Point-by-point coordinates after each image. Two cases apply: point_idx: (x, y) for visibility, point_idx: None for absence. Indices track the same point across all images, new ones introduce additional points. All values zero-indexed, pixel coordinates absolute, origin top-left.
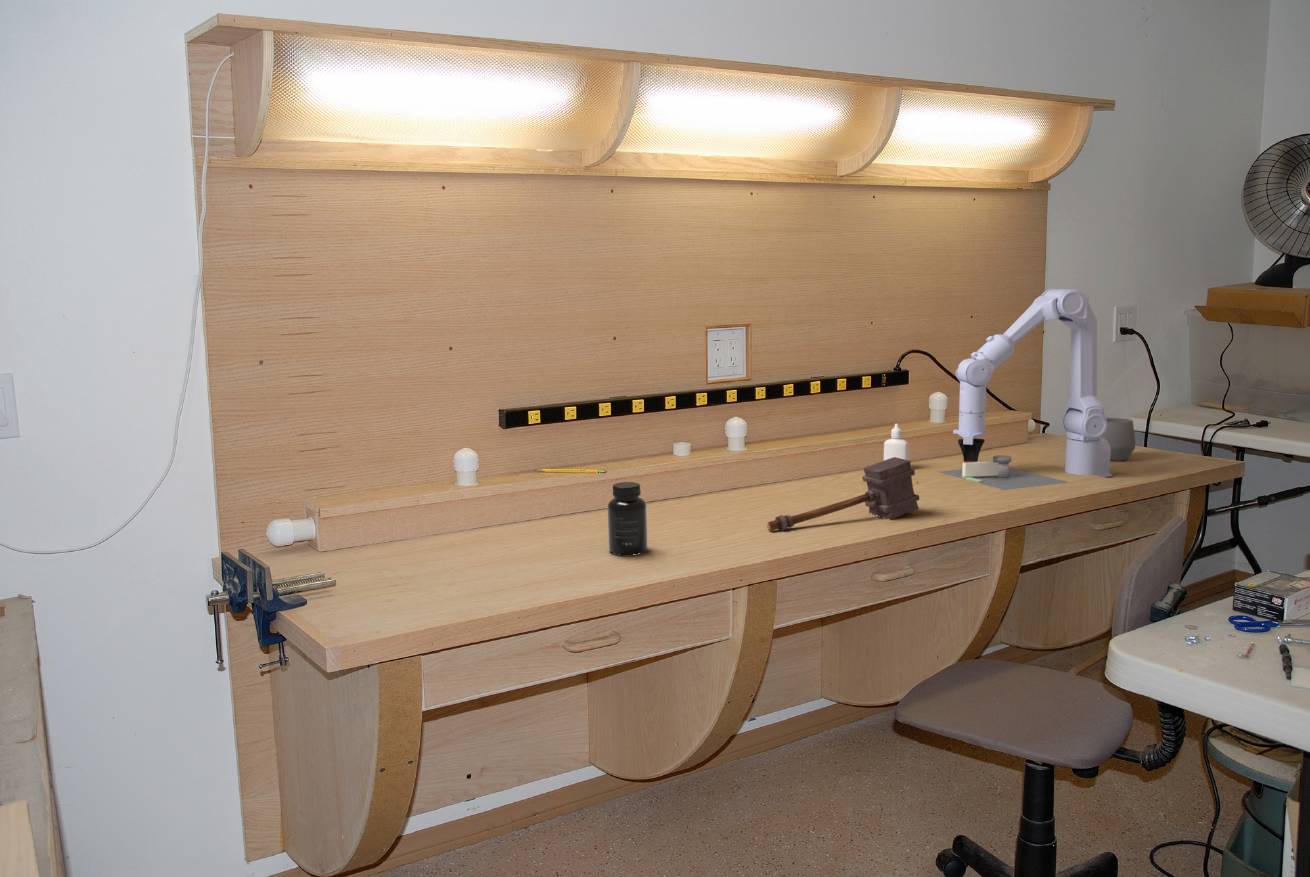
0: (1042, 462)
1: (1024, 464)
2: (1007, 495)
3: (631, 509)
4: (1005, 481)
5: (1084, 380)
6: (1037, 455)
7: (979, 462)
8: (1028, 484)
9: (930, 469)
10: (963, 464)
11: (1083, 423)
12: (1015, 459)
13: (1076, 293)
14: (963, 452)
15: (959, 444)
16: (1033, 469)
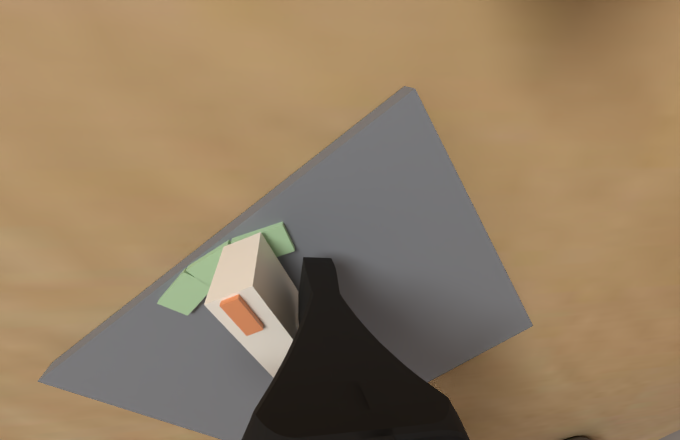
0: (578, 379)
1: (569, 355)
2: (41, 370)
3: None
4: (229, 366)
5: None
6: (660, 364)
7: (280, 357)
8: (203, 414)
9: (598, 41)
10: (241, 281)
11: None
12: (640, 334)
13: None
14: (290, 346)
15: (252, 420)
16: (500, 375)
